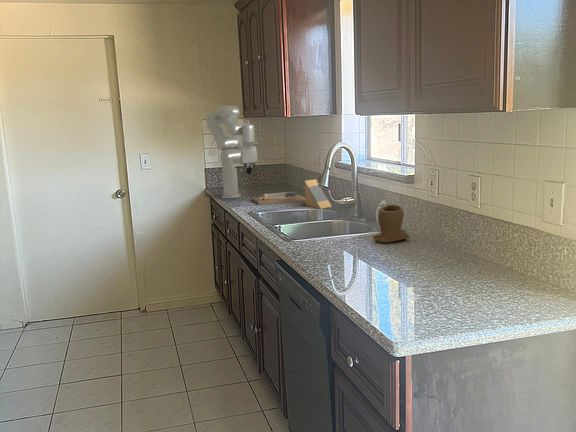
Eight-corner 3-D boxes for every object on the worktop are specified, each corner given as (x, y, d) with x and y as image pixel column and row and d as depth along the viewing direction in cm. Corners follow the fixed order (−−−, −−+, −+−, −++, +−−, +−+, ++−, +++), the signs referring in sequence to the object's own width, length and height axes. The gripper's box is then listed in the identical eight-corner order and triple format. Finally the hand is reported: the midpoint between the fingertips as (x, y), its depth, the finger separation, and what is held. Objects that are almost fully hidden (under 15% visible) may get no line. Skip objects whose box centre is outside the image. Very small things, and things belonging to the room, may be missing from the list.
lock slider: (264, 199, 353) (264, 196, 353) (263, 199, 356) (263, 195, 355) (269, 199, 354) (269, 195, 354) (268, 198, 356) (268, 195, 356)
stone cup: (385, 246, 229) (384, 209, 226) (369, 240, 239) (368, 205, 237) (416, 241, 235) (416, 205, 232) (399, 236, 245) (399, 201, 243)
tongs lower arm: (260, 199, 355) (260, 197, 355) (258, 198, 359) (258, 196, 358) (295, 196, 361) (295, 194, 361) (294, 195, 365) (293, 193, 365)
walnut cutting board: (251, 200, 366) (251, 197, 365) (296, 196, 373) (296, 193, 373) (258, 204, 348) (258, 201, 347) (305, 200, 355) (305, 197, 355)
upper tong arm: (264, 197, 356) (264, 194, 356) (263, 196, 359) (263, 193, 359) (295, 194, 361) (295, 191, 361) (293, 193, 365) (293, 190, 364)
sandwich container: (320, 209, 323) (319, 182, 320) (305, 206, 336) (304, 180, 333) (332, 207, 327) (332, 181, 325) (317, 204, 340) (316, 179, 337)
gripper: (259, 143, 360) (259, 172, 364) (235, 144, 356) (236, 173, 360) (261, 144, 353) (262, 174, 357) (237, 145, 349) (238, 175, 353)
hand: (249, 173), depth 359 cm, fingers closed
